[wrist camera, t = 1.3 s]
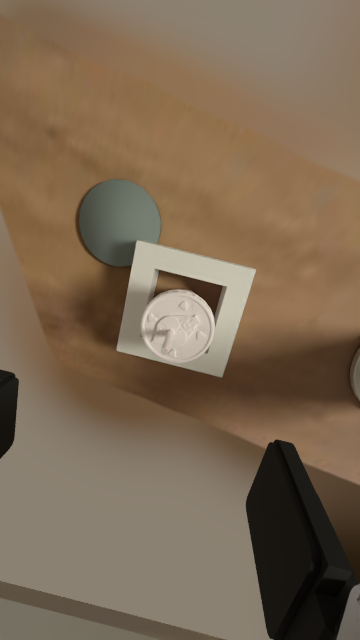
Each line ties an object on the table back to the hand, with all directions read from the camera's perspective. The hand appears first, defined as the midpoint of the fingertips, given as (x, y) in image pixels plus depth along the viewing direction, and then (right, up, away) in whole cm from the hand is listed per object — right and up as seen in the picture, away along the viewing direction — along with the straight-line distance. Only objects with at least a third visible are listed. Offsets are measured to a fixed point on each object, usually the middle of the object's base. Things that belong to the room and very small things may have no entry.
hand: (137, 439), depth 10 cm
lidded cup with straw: (+2, +6, +23) cm, 23 cm away
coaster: (-5, +15, +20) cm, 26 cm away
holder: (+2, +6, +22) cm, 23 cm away
